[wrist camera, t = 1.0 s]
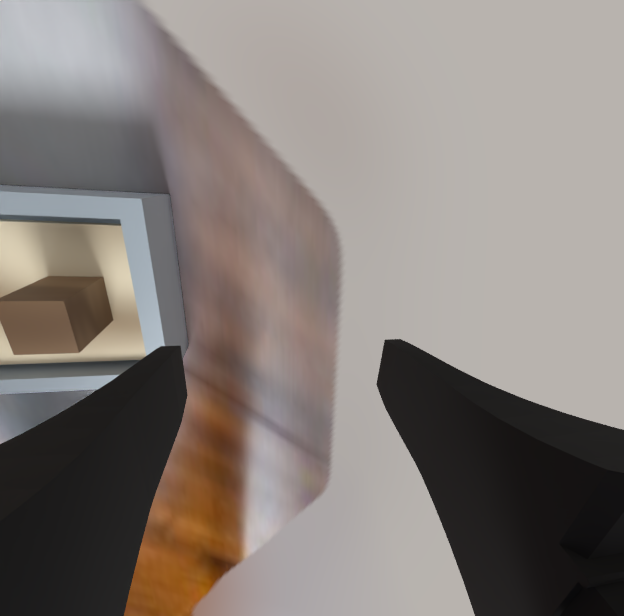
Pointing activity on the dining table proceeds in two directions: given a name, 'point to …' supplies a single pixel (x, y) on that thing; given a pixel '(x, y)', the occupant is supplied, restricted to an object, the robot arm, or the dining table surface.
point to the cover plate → (72, 258)
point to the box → (143, 267)
